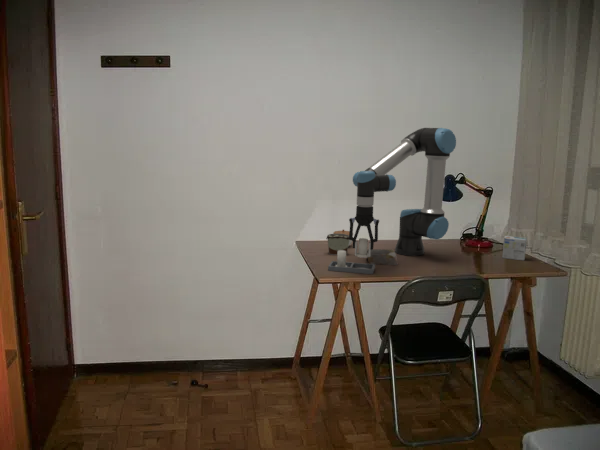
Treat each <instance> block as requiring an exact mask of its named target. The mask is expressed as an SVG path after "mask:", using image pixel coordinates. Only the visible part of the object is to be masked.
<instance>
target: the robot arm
mask: <svg viewBox="0 0 600 450" xmlns="http://www.w3.org/2000/svg"><path fill="white" fill-rule="evenodd" d="M456 147H457V138H456V135H455V133H454V131H453V130H451V129H449V128H443V127H423V128H419V129H417V130H415V131H413V132H412V133H410V134H408V135H407V136H405V137H404V138H403V139H402V140H401V141H400V143H399V144H398V145H396V146H395V147H394V148H392V150H391V151H389V152H388V153H386V154H385V155H384V156H382V157H381V158H380V159H378V160H377V161H376V162H374V163H373V164H371V165H370V166H369V167H368V168H366V169H365V170H361V171H357V172H355V173H354V174H353V177H352V182H353V185H354V186H355V187H356V208H355V209H356V210H355V211H356V212H355V216H354V217H350V218H349V219H348V220H349V231H350V232H349V240H352V249H354V256H355V257H357V256H356V255H357V253H358V245H359V240H357V238H358V236H359V233H360V230H361V228H362V227H366V229H367V233H368V237H369V241H368V249H369V252H368V257H370V256H371V250H373V249H374V246H375V245H374V243H377V242H378V240H379V223H380V219H376V218H375V217H374V204H375V203H374V199H375V196H374V195H375V193H378V192H380V193H381V192H392V191H394V190H395V188H396V186H397V180H396V177H395V176H394V175H393V174H388V173H389V172H390V171H392V170H393V169H395V167H397V166H398V165H399V164H401V163H402V162H404V161H405V160H406V159H408V158H409V157H410V156H414V155H416V154H417V153H419V152H420V153H421V152H424V156H425V158H426V159H427V168H426V177H425V179H426V180H425V193H424V201H423V202H424V203H423V208H411V209H410V208H409V209H408V208H407V209H402V210H401V211H400V216H399V234H398V235H399V236H398V239H397V242H396V245H395V248H394V252H395V253H396V254H398V255H401V256H402V255H403V256H409V257H410V256H411V257H412V256H422V255H424V254H425V246H424V243H423V238H424V237H425V238H427V239H429V240H440V239H441V238H443V237H444V236H445V235H446V233H447V232H448V229H449V225H450V223H449V220H448V219H447V218H446V217H445V211H444V210H443V208H442V207H443V200H444V199H443V198H444V184H445V175H446V165H447V164H446V163H447V160H448V159H449V158H450V157H451V153H453V152H454V150H455V149H456ZM355 221H356V223H357V227H356V230H355V232H354V223H355ZM372 222H373V224H374V235H373V231H372V228H371V227H372V226H371V224H372ZM352 235H353V237H352ZM422 237H423V238H422Z"/></svg>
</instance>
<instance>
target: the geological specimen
mask: <svg viewBox="0 0 600 450" xmlns="http://www.w3.org/2000/svg"><path fill="white" fill-rule="evenodd" d="M368 252H369V248H367V253H368ZM397 256H398V255H397V253H396V252H395V250H393V249H374V248H373V250H371V256H370V257H367V260H368V264H375V266H376V265H377V266H378V265H379V266H381V265H382V266H383V265H384V266H385V265H387V266H398V264H399V263H398V257H397Z"/></svg>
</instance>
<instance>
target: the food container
mask: <svg viewBox="0 0 600 450" xmlns="http://www.w3.org/2000/svg"><path fill="white" fill-rule="evenodd" d="M326 240H327V248H328V249H327V250H328V255H330V256H331V255H332V256H334V255H335V256H337V251H339V250H344V251H346V256H348V250H349V246H350V245H349V235H346V234H333V233H329V234H327V236H326ZM348 245H349V246H348Z"/></svg>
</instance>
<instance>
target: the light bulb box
mask: <svg viewBox="0 0 600 450" xmlns="http://www.w3.org/2000/svg"><path fill="white" fill-rule="evenodd" d="M502 243H503V245H502V247H503V248H502V256H501V258H502V259H508V260H516V261H517V260H518V261H525V258H526V251H527V237H521V236H512V235H511V236H510V235H504V237H503V242H502Z"/></svg>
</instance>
